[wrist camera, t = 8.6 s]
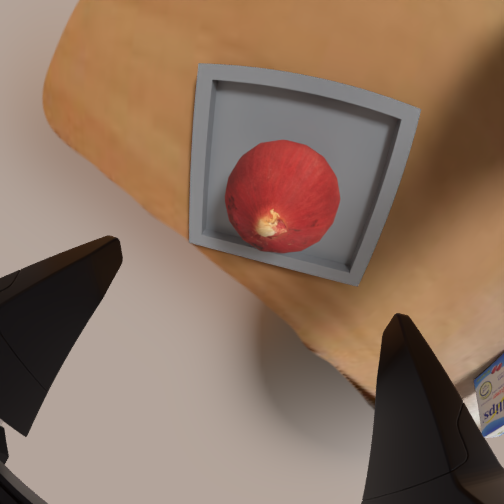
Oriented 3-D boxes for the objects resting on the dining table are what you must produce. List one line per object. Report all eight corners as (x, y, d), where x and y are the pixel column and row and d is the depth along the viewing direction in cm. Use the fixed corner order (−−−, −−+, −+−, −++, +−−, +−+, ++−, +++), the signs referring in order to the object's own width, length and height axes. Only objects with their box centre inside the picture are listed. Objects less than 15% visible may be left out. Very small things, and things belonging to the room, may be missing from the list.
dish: (414, 106, 13) (421, 109, 12) (357, 274, 21) (357, 286, 20) (208, 64, 15) (198, 63, 14) (196, 232, 23) (189, 242, 22)
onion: (303, 233, 19) (283, 314, 13) (232, 186, 19) (175, 246, 12) (355, 168, 16) (372, 223, 10) (277, 113, 16) (236, 129, 9)
